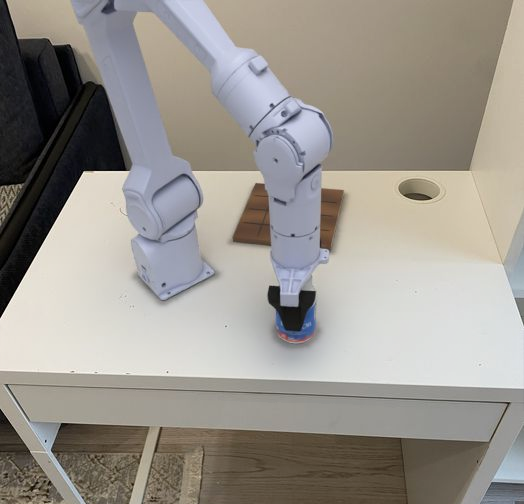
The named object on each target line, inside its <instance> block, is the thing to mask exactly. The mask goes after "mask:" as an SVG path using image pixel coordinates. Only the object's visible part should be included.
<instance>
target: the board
mask: <svg viewBox="0 0 524 504" xmlns="http://www.w3.org/2000/svg"><path fill="white" fill-rule="evenodd" d="M344 195H345V190H344V189H336V188H324V187H321V214H320V239H321V249H328V250H329V252H331V251H332V247H333V243H334V238H335V234H336V230H337V225H338V221H339V217H340V213H341V208H342V204H343V200H344V197H345V196H344ZM232 242H233V243H235V242H236V243H243V244H244V243H245V244H253V245H254V244H256V245H264V246H271V233H270V213H269V195H268V193H267V190H265V183H264V182H263V183H262V182H255V183H254V186H253V188H252V191H251V193H250V195H249V197H248V199H247V201H246V205H245V207H244V209H243V212H242V214H241V216H240V219H239V221H238V223H237V226H236V228H235V230H234V233H233V235H232Z"/></svg>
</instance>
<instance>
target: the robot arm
mask: <svg viewBox="0 0 524 504" xmlns="http://www.w3.org/2000/svg"><path fill="white" fill-rule="evenodd" d="M69 1H70V3H71V6H72V7H71V8H72V9H73V11H74V15H75V18H76V20H77V23H78V24H79V25H81V26H82V27H83V30H84V32H85V35H86V38H87V41H88V44H89V47H90V49H91V52H92V55H93V58H94V60H95V63H96V66H97V69H98V72H99V74H100V78H101V80H102V83H103V86H104V88H105V91H106V94H107V97H108V100H109V103H110V105H111V108H112V111H113V114H114V116H115V120H116V122H117V125H118V127H119V130H120V133H121V136H122V139H123V142H124V144H125V147H126V150H127V153H128V155H129V158H130V162H131V167H130V170H129V172H128V174H127V177H126V178H125V181H124V183H123V184H122V188H121V191H122V193H123V196H124V199H125V210H126V216H127V219H128V221H129V222H130V224H131V226H132V228H133V229H134V230H135V231H136V232H137V233H138V234H137V235H136V236H134V237H133V238H132V239H130V248H131V251H132V256H133V259H134V262H135V265H136V269H137V276H138V278H140V279H141V280H142V281H143V282H144V284H145V285H146V286H147V287H148V288H149V289H150V290H151V291H152V292H153V293H154V295H156V296H157V298H158V299H160V300H161V301H166V300H167V299H170V298H171V297H174V296H175V295H177V294H179V293H181V292H183V291H184V290H187V289H189V288H191V287H193V286H194V285H196V284H198V283H200V282H202V281H204V280H207V279H208V278H210V277H211V276H214V275H215V270H214V269H213V268H212V267H211V266H210V265H209V264H208V263H207V262H205V261H204V260H203V259H202V255H201V248H200V242H199V236H198V231H197V224H196V220H197V219H198V218H199V214H198V210H199V209H200V208H201V207H202V206H203V203H204V193H203V189H202V186H201V185H200V183H199V181H198V180H197V178H196V177H195V175H194V173H193V170H192V168H191V164H190V162H189V161H187V160H186V159H184V158H183V157H182V158H181V157H179V156H176V155H173V152H172V148H171V146H170V142H169V138H168V136H167V132H166V128H165V125H164V122H163V118H162V115H161V112H160V109H159V105H158V101H157V99H156V95H155V92H154V89H153V86H152V82H151V79H150V75H149V73H148V69H147V66H146V63H145V59H144V56H143V53H142V50H141V46H140V43H139V40H138V35H137V32H136V29H135V26H134V21H135V18H136V16H137V15H138V13H152V14H154V15H155V16H156V17H157V18H158V19H159V20H160V21H161V22H162V23H163V24H164V25H165V27H166V28H167V29H169V31H170V32H171V33H172V34H173V35H174V36H175V37H176V38H177V39H178V40H179V41H180V42H181V43H182V44H183V45H184V46H185V47H186V48H187V50H188V51H189V52H191V54H193V56H194V57H195V58H196V59H197V60H198V61H199V62H200V63H201V65H203V66H204V67H205V69H206V70H208V72H209V73H210V88H211V90H210V91H211V93H212V95H213V97H214V98H216V100H217V101H218V102H219V104H220V105H221V106H222V107H223V109H224V110H225V111H226V112H227V114H229V116H230V117H231V118H232V119H233V120H234V122H235V123H236V124H237V126H239V127H240V129H241V130H242V132H244V134H245V135H246V136H247V137H248V138H249V140H250V141H251V142H252V143H253V145H254V146H255V147H256V148H255V150H253V151H252V153H253V159H254V162H255V165H256V167H257V169H258V170H259V172H260V174H261V175H262V178H263V181H264V182H263V183H264V184H265V190H267V193H268V195H269V213H270V233H271V245H270V251H269V260H270V263H271V266H272V269H273V272H274V274H275V277H276V281H277V283H278V285H268V289H267V294H266V295H267V297H266V298H267V302H268V304H269V305H270V306H271V307H273V308H274V310H275V312H276V311H277V312H278V314H279V316H280V319H281V321H282V324H283V326H284V329H285V330H286V331H301V330H302V327H303V324H304V320H305V316H306V313H307V312H308V310H309V309H310V308H311V307H312V306H313V304H314V302H315V297H316V291H317V290H316V291H307V290H302V287H303V286H304V285H305V283H306V282H307V280H308V279H309V277H310V276H311V274H312V275H313V273H314V272H315V270H316V269H317V267H319V265H326V264H328V263H329V261H330V251H329V250H328V249H321V239H320V214H321V188H322V181H323V180H322V179H323V177H322V175H323V165H322V164H321V163H322V162H323V161H324V160H325V159H326V158H327V157H328V156H329V155H330V153H331V152H332V150H333V147H334V133H333V129H332V127H331V124H330V122H329V121H328V119H327V118H326V115H325V114H324V112H323V111H322V110H320V109H319V108H318V107H316V106H313V105H311V104H306V103H305V102H303V101H302V100H301V99H300V98H297V97H294V98H293V96H292V95H291V94H290V92H289V91H288V90H287V89H286V87H285V86H284V85H283V84H282V82H281V81H280V80H279V79H278V77H277V76H276V75H275V74H274V72H273V71H272V70H271V69H270V67H269V64H268V62H267V60H266V59H265V58H264V57H263V55H260V54H259V53H257V51H256V50H255V49H253V48H246V47H240V46H239V47H238V46H236V45H235V43H234V42H233V41H232V39H231V38H230V36H229V34H228V33H227V32H226V31H225V29H224V28H223V26H222V24H221V23H220V22H219V20H218V19H217V17H216V16H215V14H213V12H212V11H211V9H210V7H209V6H208V4H207V3H206V2H205V1H204V0H69Z"/></svg>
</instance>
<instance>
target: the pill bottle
mask: <svg viewBox="0 0 524 504" xmlns="http://www.w3.org/2000/svg"><path fill="white" fill-rule="evenodd" d="M313 279H314V278H313V273H312V274H311V276H310V277H309V279H308V280H307V282H306V283H305V285H304V286H303V287H302V290H307V291H316V297H315V302H314V304H313V306H312V307H311V308H310V309H309V310H308V312H307V313H306V316H305V320H304V324H303V327H302V330H301V331H286V330H285V329H284V326H283V324H282V321H281V319H280V316H279V314H278V312H277V311H276V310H275V330H276V334H277V336H278V338H280V339H281V340H282V341H285V342H286V343H290V344H302V343H305V342H307V341H309V340H311V338H312V337H313V336H314V334H315V332H316V323H317V322H316V321H317V302H318V291H317V289H316V286H315V285H314V282H313V281H314V280H313Z"/></svg>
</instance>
